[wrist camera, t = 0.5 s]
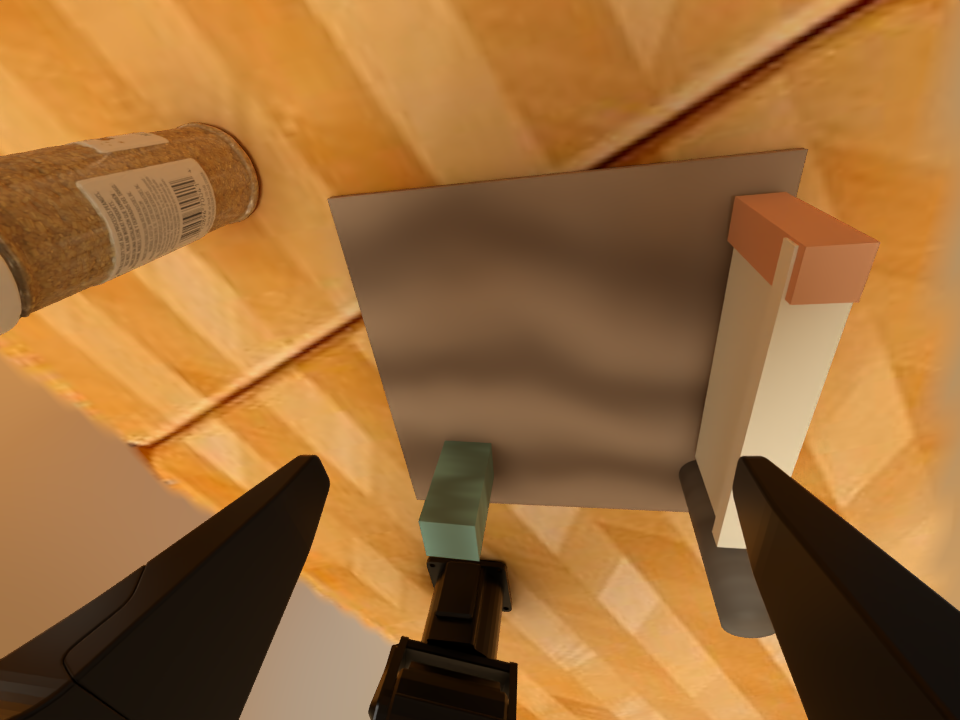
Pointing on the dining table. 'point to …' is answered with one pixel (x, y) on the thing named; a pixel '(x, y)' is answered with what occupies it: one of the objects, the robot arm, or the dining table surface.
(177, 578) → the robot arm
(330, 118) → the dining table surface
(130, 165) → the sprinkles bottle
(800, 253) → the orange and cream block
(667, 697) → the dining table surface
